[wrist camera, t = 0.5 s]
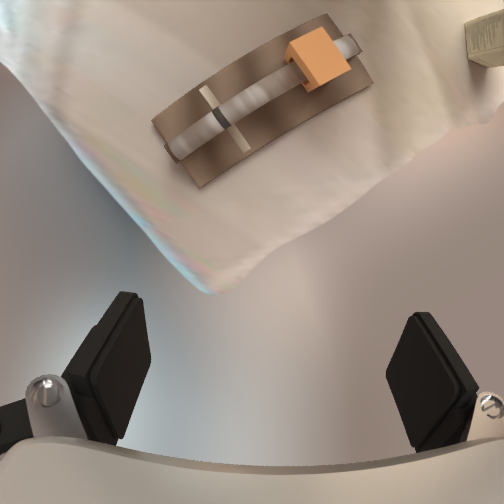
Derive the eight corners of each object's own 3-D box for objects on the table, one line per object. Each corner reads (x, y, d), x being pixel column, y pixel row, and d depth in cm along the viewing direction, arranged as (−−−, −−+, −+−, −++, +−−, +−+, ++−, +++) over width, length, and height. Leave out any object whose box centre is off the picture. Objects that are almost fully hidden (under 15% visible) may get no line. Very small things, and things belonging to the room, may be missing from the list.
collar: (310, 43, 28) (321, 26, 21) (333, 78, 29) (351, 69, 23) (283, 57, 29) (289, 42, 22) (307, 92, 30) (319, 85, 24)
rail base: (325, 15, 27) (334, 1, 23) (371, 84, 31) (387, 79, 26) (154, 120, 33) (137, 120, 28) (200, 186, 36) (192, 196, 32)
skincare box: (488, 68, 28) (545, 65, 16) (466, 58, 28) (524, 50, 16) (485, 30, 25) (539, 19, 14) (463, 20, 25) (517, 3, 14)
